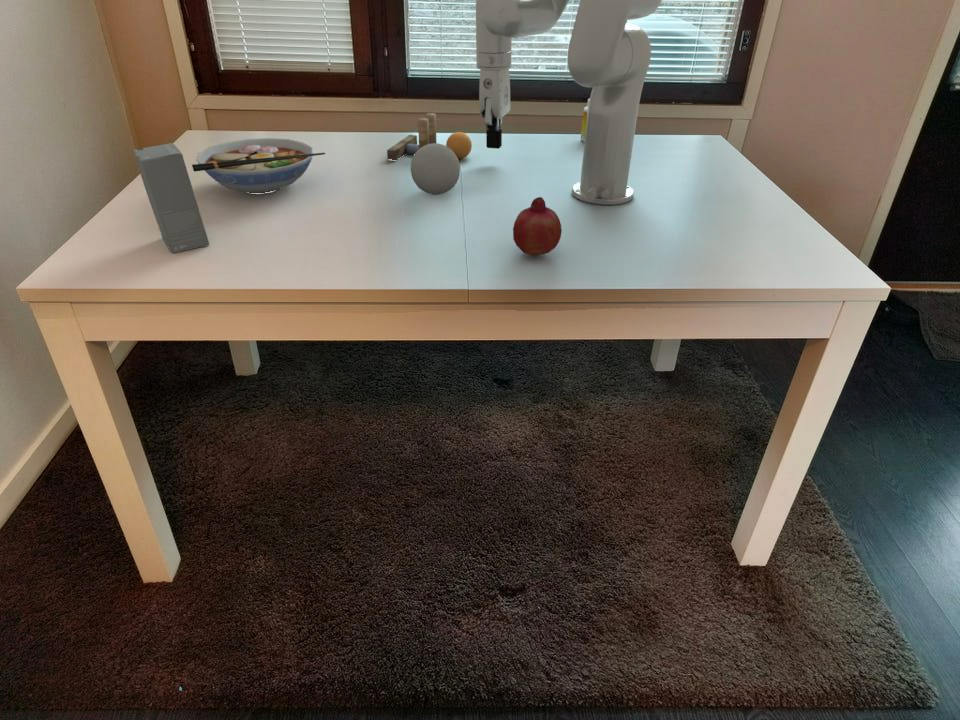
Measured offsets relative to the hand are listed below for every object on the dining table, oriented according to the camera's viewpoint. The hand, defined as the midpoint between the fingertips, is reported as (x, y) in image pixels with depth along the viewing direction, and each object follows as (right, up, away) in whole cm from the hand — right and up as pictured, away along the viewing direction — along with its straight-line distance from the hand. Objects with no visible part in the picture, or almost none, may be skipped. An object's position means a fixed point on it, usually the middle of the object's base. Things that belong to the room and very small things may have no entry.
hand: (494, 147), depth 149 cm
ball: (-12, -15, -15) cm, 25 cm away
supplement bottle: (+26, +8, +19) cm, 33 cm away
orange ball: (-8, +1, +3) cm, 9 cm away
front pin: (-12, 0, +5) cm, 13 cm away
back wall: (-22, +1, +8) cm, 23 cm away
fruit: (+6, -31, -39) cm, 51 cm away
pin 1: (-16, -1, +4) cm, 17 cm away
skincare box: (-54, -29, -37) cm, 72 cm away
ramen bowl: (-48, -14, -15) cm, 52 cm away
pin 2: (-15, +1, +8) cm, 17 cm away
